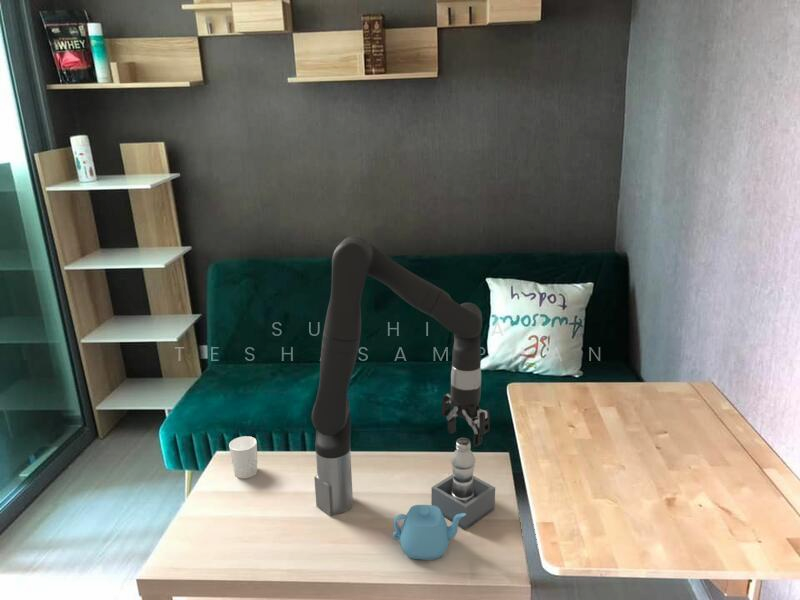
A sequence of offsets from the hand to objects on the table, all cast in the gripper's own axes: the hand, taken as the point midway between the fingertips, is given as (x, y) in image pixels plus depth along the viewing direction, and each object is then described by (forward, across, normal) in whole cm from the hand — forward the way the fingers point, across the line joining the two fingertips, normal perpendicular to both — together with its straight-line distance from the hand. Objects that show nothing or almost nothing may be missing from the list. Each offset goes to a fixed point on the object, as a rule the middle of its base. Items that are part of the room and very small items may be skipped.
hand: (464, 438), depth 164 cm
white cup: (+22, -57, -33) cm, 69 cm away
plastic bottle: (+21, 0, 0) cm, 21 cm away
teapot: (+22, +4, -17) cm, 28 cm away
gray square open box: (+22, 0, 0) cm, 22 cm away
